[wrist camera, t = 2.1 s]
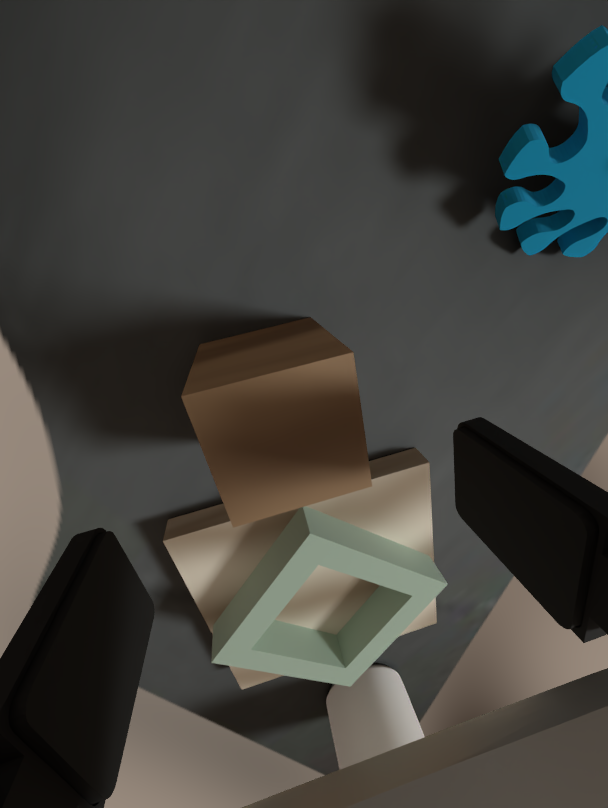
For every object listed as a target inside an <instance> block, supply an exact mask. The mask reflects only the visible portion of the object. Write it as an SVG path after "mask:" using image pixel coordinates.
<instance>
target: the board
mask: <svg viewBox="0 0 608 808" xmlns="http://www.w3.org/2000/svg"><path fill="white" fill-rule="evenodd" d="M369 467H370V474H371V481H372V487H369V488H365V489H362V490H358V491H355V492H352V493H348V494H345V495H342V496H338V497H335V498H332V499H328V500H325V501H321V502H318V503H315V504H311V505H308V506H307V507H309V508H312V509H314V510H317V511H319V512H322V513H324V514H327V515H329V516H332V517H334V518H337V519H339V520H342V521H344V522H347V523H349V524H352V525H354V526H357V527H359V528H362V529H364V530H367V531H369V532H372V533H374V534H377V535H379V536H382V537H384V538H386V539H389V540H391V541H394V542H396V543H399V544H401V545H404V546H406V547H409V548H411V549H414V550H416V551H419V552H421V553H424V554H426V555H429V556H430V558H431V559H432V561H433V562H434V554H433V532H432V510H431V488H430V467H429V462H428V461H427V459H426V458H425V457H424V456H423V455H422V454H421V453H420V452H419V451H418V450H417V449H416V448H413V449H409V450H406V451H403V452H399V453H396V454H392V455H389V456H385V457H382V458H378V459H375V460H371V461H369ZM298 509H299V508H298ZM298 509H295V510H291V511H288V512H284V513H281V514H278V515H274V516H271V517H268V518H264V519H261V520H258V521H254V522H251V523H247V524H244V525H241V526H237V527H234V528H233V526H232V524H231V521H230V519H229V516H228V514H227V511H226V509H225V506H224V504H220V505H216V506H213V507H209V508H206V509H203V510H199V511H196V512H192V513H189V514H185V515H182V516H178V517H175V518H172V519H168V521H167V526H166V530H165V534H164V538H163V542H164V544H165V546H166V548H167V550H168V552H169V554H170V556H171V557H172V559H173V561H174V563H175V565H176V567H177V569H178V571H179V573H180V574H181V576H182V578H183V580H184V582H185V584H186V586H187V588H188V589H189V591H190V593H191V595H192V597H193V599H194V601H195V603H196V604H197V606H198V608H199V610H200V612H201V614H202V616H203V618H204V620H205V621H206V623H207V625H208V627H209V629H210V631H211V633H212V635H213V625H214V624H215V622H216V621H217V619H218V618H219V617H220V615H221V614H222V613H223V611H224V610H225V609H226V607H227V606H228V605H229V603H230V602H231V600H232V599H233V598H234V596H235V595H236V594H237V592H238V591H239V590H240V588H241V587H242V586H243V584H244V583H245V581H246V580H247V579H248V577H249V576H250V575H251V573H252V572H253V571H254V569H255V568H256V566H257V565H258V564H259V562H260V561H261V560H262V558H263V557H264V556H265V554H266V553H267V552H268V550H269V549H270V547H271V546H272V545H273V543H274V542H275V541H276V539H277V538H278V537H279V535H280V534H281V532H282V531H283V530H284V528H285V527H286V526H287V524H288V523H289V522H290V520H291V519H292V518H293V516H294V515H295V513H296V512H297V511H298ZM379 586H380V585H378V584H375V583H372V582H369V581H366V580H363V579H360V578H357V577H354V576H351V575H348V574H345V573H342V572H338V571H335V570H332V569H329V568H326V567H323V566H320V565H318V566H317V567H316V569H315V570H314V571H313V572H312V574H311V575H310V576H309V577H308V579H307V580H306V581H305V582H304V584H303V585H302V586H301V587H300V589H299V590H298V591H297V592H296V594H295V595H294V596H293V597H292V599H291V600H290V601H289V602H288V604H287V605H286V606H285V607H284V609H283V610H282V611H281V612H280V614H279V615H278V616H277V617H276V619H275V620H277V621H281V622H285V623H290V624H294V625H298V626H302V627H306V628H310V629H314V630H319V631H323V632H327V633H331V634H335V635H337V634H338V632H339V631H340V630H341V629H342V628H343V627H344V626H345V625H346V623H347V622H348V621H349V620H350V619H351V618H352V617H353V615H354V614H355V613H356V612H357V611H358V610H359V609H360V607H361V606H362V605H363V604H364V603H365V602H366V601H367V600H368V598H369V597H370V596H371V595H372V594H373V593H374V592H375V590H376V589H377V588H378V587H379ZM435 623H437V619H436V598H434V599H433V600H432V601H431V602H430V604H429V605H428V606H427V607H426V608H425V609H424V610H423V611H422V612H421V613H420V614H419V615H418V616H417V617H416V618H415V619H414V620H413V621H412V623H411V624H410V625H409V626H408V627H407V628H406V629H405V630H404V631H403V632H402V633H401V634H400V635H403V634H406V633H409V632H412V631H415V630H418V629H421V628H424V627H426V626H429V625H432V624H435ZM400 635H399V636H400ZM229 667H230V668H231V670H232V672H233V674H234V676H235V678H236V680H237V682H238V683H239V685H240V687H241V689H245V688H248V687H251V686H254V685H257V684H260V683H263V682H266V681H269V680H272V679H274V678H277V677H280V676H283V675H280V674H274V673H268V672H262V671H256V670H251V669H245V668H239V667H233V666H229Z"/></svg>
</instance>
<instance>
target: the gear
mask: <svg viewBox="0 0 608 808" xmlns="http://www.w3.org/2000/svg"><path fill="white" fill-rule="evenodd" d="M552 79H553V81H554V83H555V85H556V87H557V89H558V90H559V92H560V94H561V96H562V98H563V99H564V100H565V101H566V102H570V103H574V104H576V105H578V106H579V123H578V126H577V129H576V130H575V132H574V133H573V134H572V136H571V137H570V138H569V139H567V140H566V141H565V142H563V143H562V144H560V145H558V146H556V147H552V148H549V147H548V144H547V142H546V140H545V137H544V135H543V133H542V131H541V129H540V127H539V126H538V125H536V124H525V125H522V126H521V127H520V128H519V130H518V131H517V132H516V133H515V134H514V135H513V137H512V138H511V139H510V140H509V142H508V144H507V145H506V147H505V148H504V150H503V152H502V154H501V155H500V157H499V162H500V164H501V167H502V170H503V172H504V175H505V176H506V178H508V179H512V180H516V179H521V178H524V177H528V176H533V175H550V176H553V177H555V180H554V181H553V182H552V183H551V184H550V185H549V186H547V187H546V188H544V189H542V190H540V191H536V192H531V191H528V190H526V189H525V188H523V187H518V186H516V187H511V188H508V189H506V190H504V191H503V192H501V193H500V195H499V197H498V199H497V202H496V207H495V216H496V219H497V222H498V225H499V228H500V230H509V229H513V228H515V227H517V226H519V225H520V224H522V223H523V224H522V225H520V226H519V227H518V228H517V229H516V233H517V236H518V239H519V241H520V244H521V247H522V249H523V251H524V252H525V253H527V254H528V255H529V256H530V255H533V254H536V253H538V252H540V251H542V250H543V249H544V248H546V247H547V246H548V245H549V244H550V243H551V242H552V241H554V240H555V239H556V238H558V237H559V236H560V237H559V238H558V240H557V241H558V244H559V246H560V249H561V251H562V253H563V254H564V255H565V256H569V257H583V256H585V255H587V254H588V253H590V252H591V251H592V250H594V249H595V247H596V246H597V245H598V243H599V241H600V240H601V239H602V238H603V236H604V235H605V234H606V233H607V232H608V30H607V28H606V27H604V26H602V25H601V26H600V27H598V28H596V29H595V30H593V31H592V32H590V33H589V34H587V35H586V36H585V37H584V38H582V39H581V40H580V41H579V42H578V43H576V44H575V45H574V46H573V47H572V48H571V49H570V50H569V51H568V52H567V53H566V54H565V55H564V56H563V57H562V58H561V59H560V60H559V61H558V62H557V63H556V64H555V65H554V66H553V70H552ZM605 87H607V88H605ZM558 210H560V211H559V212H558V213H556V214H554V215H552V216H548V217H542V218H535V219H531V218H533V217H536V216H538V215H541V214H544V213H548V212H552V211H558ZM529 219H531V220H529ZM527 220H529V221H527ZM525 221H527V222H525ZM524 222H525V223H524Z"/></svg>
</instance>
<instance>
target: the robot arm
mask: <svg viewBox="0 0 608 808" xmlns="http://www.w3.org/2000/svg"><path fill="white" fill-rule="evenodd" d="M453 443H454V473H455V503H456V509H457V511H458V514H459V515H460V517H461V518H462V519H463V520H464V521H465V522H466V524H467V525H468V526H469V527H470V528H471V529H472V530H473V531H474V532H475V533H476V534H477V536H478V537H479V538H480V539H481V540H482V541H483V542H484V543H485V544H486V545H487V546H488V548H489V549H490V550H491V551H492V552H493V553H494V554H495V555H496V556H497V557H498V558H499V560H500V561H501V562H502V563H503V564H504V565H505V566H506V567H507V568H508V569H509V570H510V572H511V573H512V574H513V575H514V576H515V577H516V578H517V579H518V580H519V581H520V582H521V584H522V585H523V586H524V587H525V588H526V589H527V590H528V591H529V592H530V593H531V594H532V595H533V597H534V598H535V599H536V600H537V601H538V602H539V603H540V604H541V605H542V606H543V608H544V609H545V610H546V611H547V612H548V613H549V614H550V615H551V616H552V617H553V618H554V619H555V621H556V622H557V623H558V624H559V625H560V626H562V627H563V628H565V629H571V630H572V631H573V632H574V633H575V634H576V635H577V636H578V637H579V638H580V639H581V640H582V642H583V643H585V642H588V641H591V640H593V639H596V638H599V637H601V636H604V635H606V634H607V635H608V492H606V491H604V490H603V489H601V488H600V487H598V486H596V485H595V484H593V483H591V482H590V481H588V480H586V479H585V478H583V477H581V476H580V475H578V474H576V473H575V472H573V471H571V470H569V469H568V468H566V467H564V466H563V465H561V464H559V463H558V462H556V461H554V460H553V459H551V458H549V457H548V456H546V455H544V454H543V453H541V452H539V451H538V450H536V449H534V448H533V447H531V446H529V445H528V444H526V443H524V442H523V441H521V440H519V439H518V438H516V437H514V436H512V435H511V434H509V433H507V432H506V431H504V430H502V429H501V428H499V427H497V426H496V425H494V424H492V423H491V422H489V421H487V420H486V419H484V418H481V417H480V418H475V419H472V420H468V421H465V422H461V423H460V424H459V425H458V428H457V429H456V430H455V431H454V433H453ZM153 619H154V604H153V601H152V599H151V598H150V596H149V594H148V592H147V591H146V589H145V587H144V585H143V584H142V582H141V580H140V578H139V577H138V575H137V573H136V571H135V570H134V568H133V566H132V564H131V563H130V561H129V559H128V557H127V556H126V554H125V552H124V550H123V549H122V547H121V545H120V543H119V542H118V540H117V538H116V536H115V535H114V534H113V532H111V531H108V532H106V530H104V529H103V528H97V529H94V530H90V531H87V532H83V533H80V534H77V535H75V536H74V537H73V538H72V539H71V541H70V543H69V544H68V546H67V548H66V549H65V551H64V553H63V554H62V556H61V558H60V559H59V561H58V563H57V564H56V566H55V568H54V569H53V571H52V573H51V574H50V576H49V578H48V579H47V581H46V583H45V585H44V586H43V588H42V590H41V591H40V593H39V595H38V596H37V598H36V600H35V601H34V603H33V605H32V606H31V608H30V610H29V611H28V613H27V615H26V616H25V618H24V620H23V621H22V623H21V625H20V626H19V628H18V630H17V632H16V633H15V635H14V636H13V638H12V640H11V642H10V643H9V645H8V647H7V648H6V650H5V652H4V653H3V655H2V657H1V658H0V808H104V804H105V800H106V799H108V798H109V797H110V796H111V795H112V793H113V791H114V788H115V785H116V782H117V777H118V772H119V768H120V764H121V759H122V755H123V750H124V746H125V742H126V738H127V733H128V729H129V724H130V720H131V715H132V711H133V706H134V702H135V698H136V694H137V689H138V685H139V680H140V676H141V672H142V667H143V663H144V658H145V654H146V650H147V645H148V641H149V636H150V632H151V628H152V623H153ZM242 808H608V668H607V669H604V670H601V671H599V672H596V673H593V674H590V675H587V676H585V677H582V678H580V679H577V680H574V681H572V682H569V683H566V684H564V685H561V686H558V687H556V688H553V689H550V690H548V691H545V692H543V693H540V694H537V695H534V696H532V697H529V698H527V699H524V700H521V701H519V702H516V703H513V704H511V705H508V706H505V707H503V708H500V709H498V710H495V711H492V712H489V713H487V714H484V715H482V716H479V717H476V718H474V719H471V720H468V721H466V722H463V723H460V724H458V725H455V726H452V727H450V728H447V729H445V730H442V731H439V732H437V733H434V734H432V735H429V736H427V737H424V738H421V739H419V740H416V741H413V742H411V743H408V744H406V745H403V746H400V747H398V748H395V749H392V750H390V751H387V752H385V753H382V754H379V755H377V756H374V757H372V758H369V759H366V760H364V761H361V762H359V763H356V764H353V765H351V766H348V767H346V768H343V769H340V770H338V771H335V772H333V773H330V774H327V775H325V776H323V777H320V778H317V779H315V780H312V781H309V782H307V783H304V784H302V785H299V786H296V787H294V788H291V789H289V790H286V791H284V792H281V793H278V794H276V795H273V796H271V797H268V798H266V799H263V800H260V801H258V802H255V803H253V804H250V805H248V806H245V807H242Z"/></svg>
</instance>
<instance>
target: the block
mask: <svg viewBox="0 0 608 808" xmlns="http://www.w3.org/2000/svg"><path fill="white" fill-rule="evenodd" d="M181 398H182V400H183V403H184V405H185V408H186V410H187V413H188V415H189V418H190V420H191V423H192V425H193V428H194V430H195V433H196V435H197V438H198V440H199V443H200V446H201V448H202V451H203V453H204V456H205V458H206V461H207V463H208V466H209V468H210V471H211V473H212V476H213V478H214V481H215V483H216V486H217V488H218V491H219V493H220V496H221V498H222V501H223V504H224V506H225V509H226V511H227V514H228V516H229V519H230V521H231V524H232V526H233V528H234V527H237V526H241V525H244V524H247V523H251V522H254V521H258V520H261V519H264V518H268V517H271V516H274V515H278V514H281V513H284V512H288V511H291V510H295V509H298V508H301V507H305V506H308V505H311V504H315V503H318V502H321V501H325V500H328V499H332V498H335V497H338V496H342V495H345V494H348V493H352V492H355V491H358V490H362V489H365V488H369V487H372V481H371V474H370V467H369V460H368V453H367V446H366V438H365V431H364V424H363V417H362V410H361V403H360V396H359V389H358V382H357V375H356V368H355V361H354V354H353V351H351V350H350V349H349V348H348V347H346V346H345V345H344V344H343V343H341V342H340V341H339V340H338V339H337V338H335V337H334V336H333V335H332V334H330V333H329V332H328V331H327V330H325V329H324V328H323V327H322V326H321V325H319V324H318V323H317V322H316V321H314V320H313V319H312V318H311V317H309V318H305V319H301V320H297V321H293V322H289V323H285V324H281V325H277V326H273V327H269V328H265V329H260V330H256V331H252V332H248V333H244V334H240V335H236V336H232V337H228V338H224V339H220V340H216V341H212V342H208V343H204V344H199V347H198V350H197V353H196V356H195V359H194V361H193V364H192V367H191V370H190V373H189V376H188V378H187V381H186V384H185V387H184V390H183V393H182V395H181Z"/></svg>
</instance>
